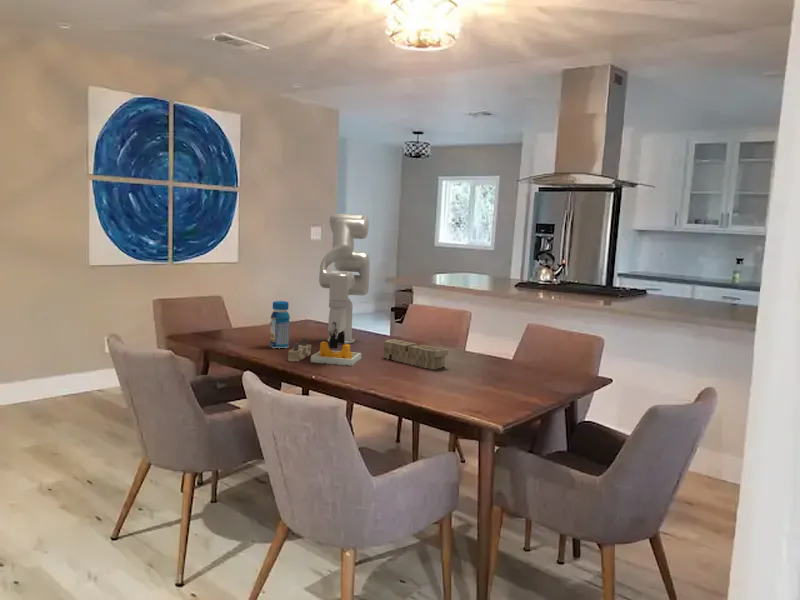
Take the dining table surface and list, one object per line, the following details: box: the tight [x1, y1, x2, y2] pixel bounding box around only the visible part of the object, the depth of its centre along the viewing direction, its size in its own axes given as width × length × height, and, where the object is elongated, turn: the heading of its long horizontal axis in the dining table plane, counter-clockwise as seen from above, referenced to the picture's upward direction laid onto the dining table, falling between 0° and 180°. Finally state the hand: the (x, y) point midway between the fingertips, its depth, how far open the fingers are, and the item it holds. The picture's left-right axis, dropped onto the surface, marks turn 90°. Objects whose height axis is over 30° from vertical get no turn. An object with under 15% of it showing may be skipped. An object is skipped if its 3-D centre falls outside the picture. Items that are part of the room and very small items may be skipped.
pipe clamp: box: [319, 341, 352, 359], centre depth 257 cm, size 12×4×6 cm, turn 70°
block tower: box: [383, 338, 449, 370], centre depth 260 cm, size 8×8×29 cm
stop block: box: [287, 337, 312, 362], centre depth 260 cm, size 16×4×7 cm, turn 169°
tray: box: [310, 349, 362, 367], centre depth 257 cm, size 14×17×2 cm
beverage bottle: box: [269, 300, 291, 350], centre depth 277 cm, size 8×8×20 cm
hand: (337, 345), depth 257 cm, fingers open, 9 cm apart
